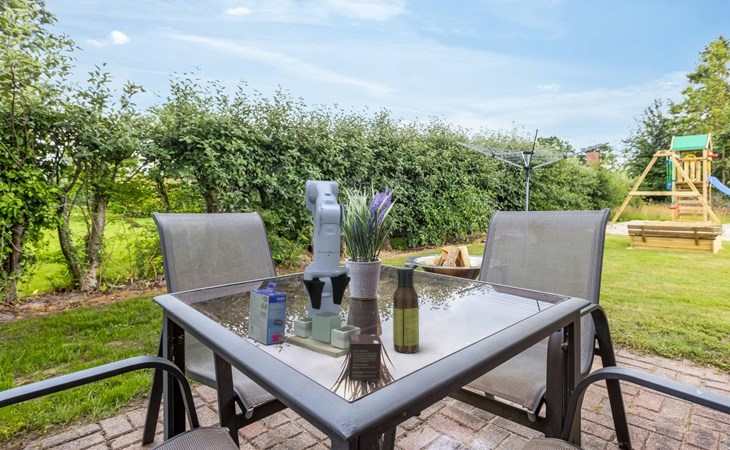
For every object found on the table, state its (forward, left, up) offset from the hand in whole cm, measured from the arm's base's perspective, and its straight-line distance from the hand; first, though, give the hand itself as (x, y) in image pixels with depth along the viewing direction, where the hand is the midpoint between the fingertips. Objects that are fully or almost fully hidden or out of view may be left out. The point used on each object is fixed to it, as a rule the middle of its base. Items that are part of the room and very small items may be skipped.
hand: (326, 306), depth 95 cm
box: (+9, +19, -10) cm, 23 cm away
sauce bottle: (-10, +17, -10) cm, 22 cm away
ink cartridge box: (+7, -14, -10) cm, 18 cm away
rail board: (0, 0, -9) cm, 9 cm away
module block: (0, 0, -8) cm, 8 cm away
